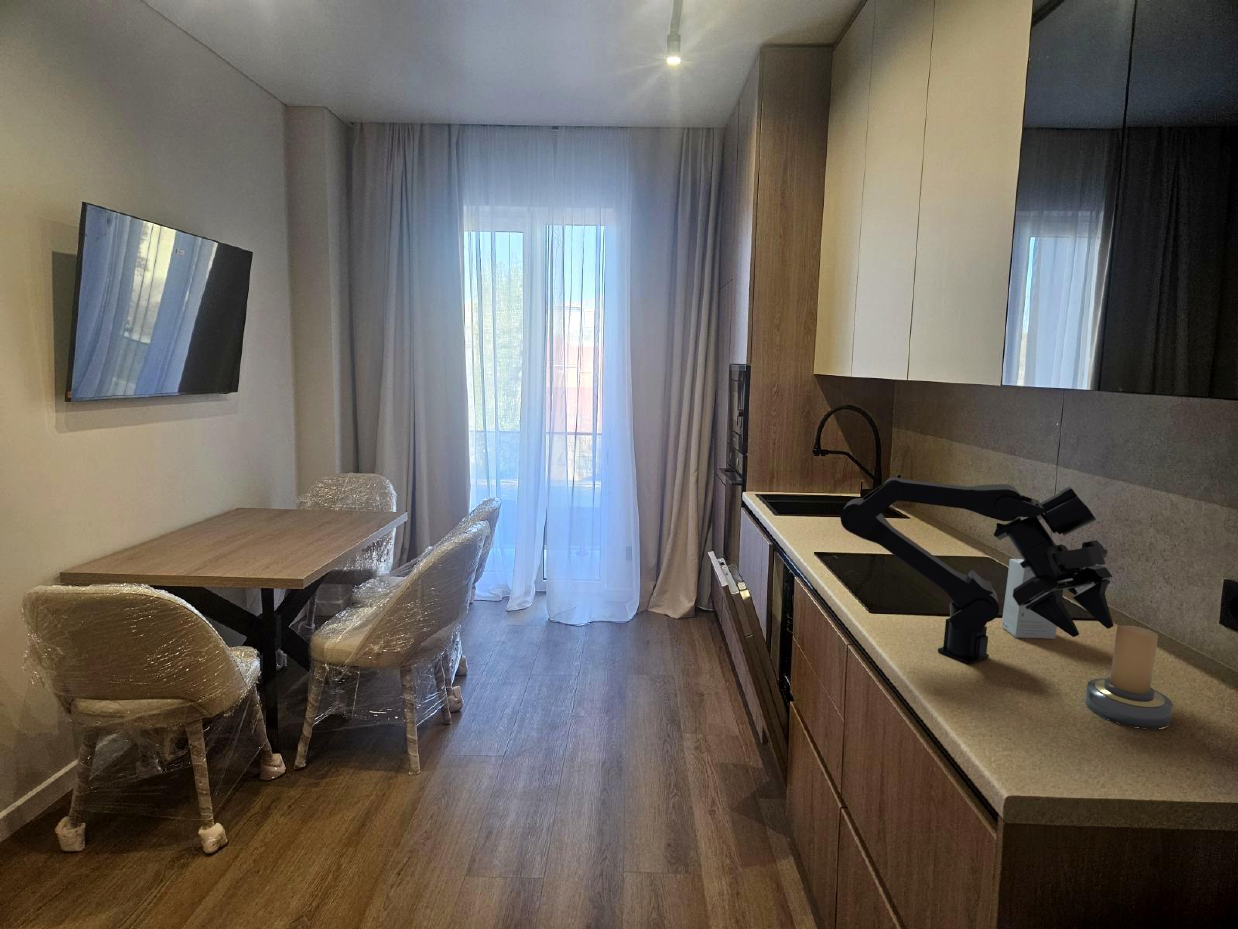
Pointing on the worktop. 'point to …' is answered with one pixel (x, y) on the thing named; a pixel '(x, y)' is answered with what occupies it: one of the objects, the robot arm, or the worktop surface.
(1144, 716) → the grey round disc
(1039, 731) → the worktop surface
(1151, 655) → the tan rounded stopper
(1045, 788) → the worktop surface
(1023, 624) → the skincare box
